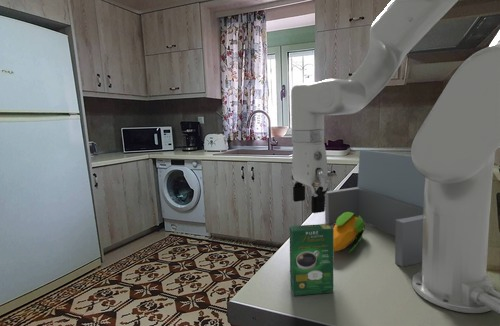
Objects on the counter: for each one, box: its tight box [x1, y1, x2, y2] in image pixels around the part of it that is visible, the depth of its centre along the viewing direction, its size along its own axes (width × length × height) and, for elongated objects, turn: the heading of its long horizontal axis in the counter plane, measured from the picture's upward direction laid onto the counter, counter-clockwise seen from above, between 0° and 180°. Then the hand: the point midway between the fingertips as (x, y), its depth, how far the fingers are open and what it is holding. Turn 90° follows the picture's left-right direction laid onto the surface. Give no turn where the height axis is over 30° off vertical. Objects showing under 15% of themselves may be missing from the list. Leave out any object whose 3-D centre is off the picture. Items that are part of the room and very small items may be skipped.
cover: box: [356, 149, 426, 207], centre depth 80 cm, size 31×12×1 cm
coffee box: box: [289, 223, 334, 297], centre depth 56 cm, size 8×3×13 cm, turn 93°
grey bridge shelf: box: [324, 186, 423, 268], centre depth 79 cm, size 31×12×10 cm, turn 17°
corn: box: [332, 212, 366, 255], centre depth 75 cm, size 7×8×20 cm
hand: (308, 206), depth 73 cm, fingers open, 9 cm apart
